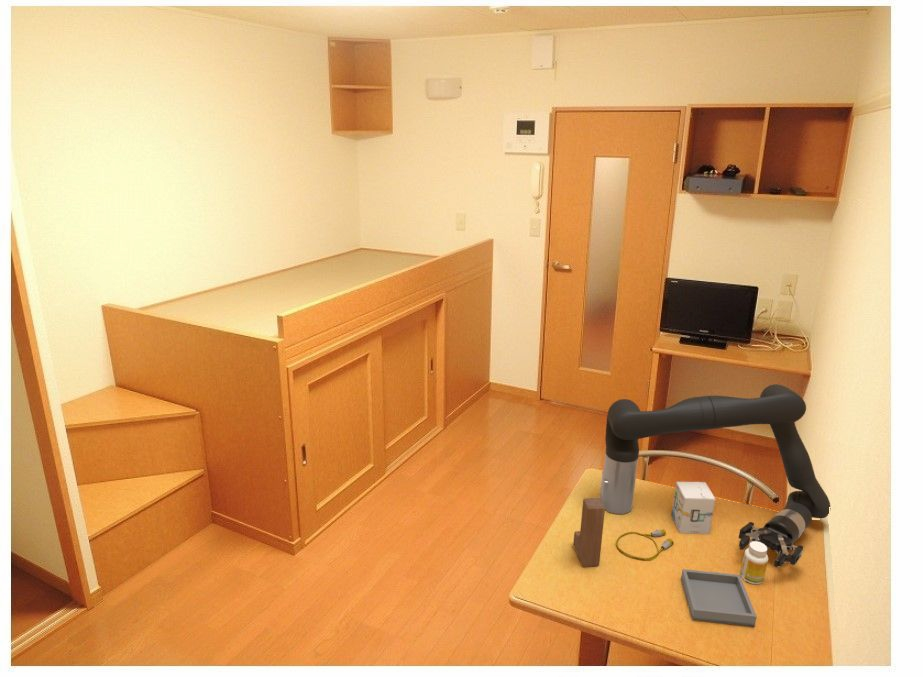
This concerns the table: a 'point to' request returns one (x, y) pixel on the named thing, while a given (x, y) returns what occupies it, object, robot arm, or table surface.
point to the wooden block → (590, 532)
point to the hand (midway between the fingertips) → (758, 555)
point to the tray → (717, 598)
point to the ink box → (693, 507)
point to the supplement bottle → (754, 563)
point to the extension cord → (653, 534)
